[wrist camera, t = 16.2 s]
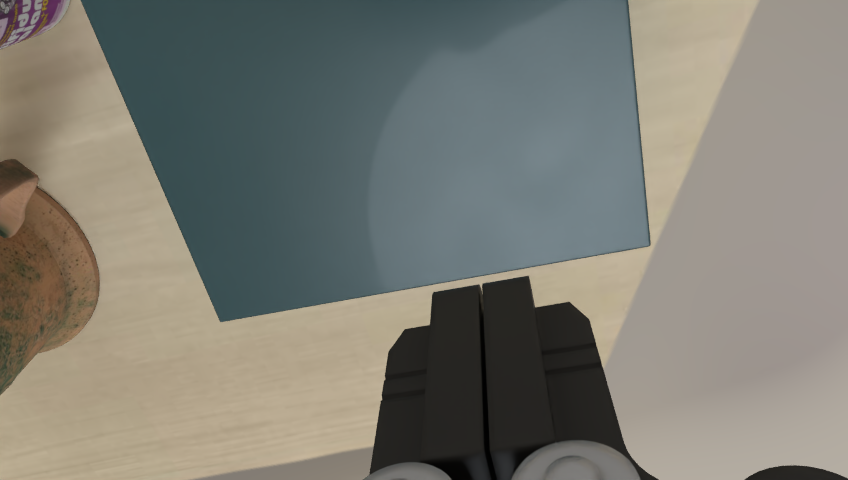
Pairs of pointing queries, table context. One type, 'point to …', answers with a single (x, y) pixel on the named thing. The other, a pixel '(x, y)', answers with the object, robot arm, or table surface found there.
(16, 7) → the pill bottle
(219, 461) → the table surface
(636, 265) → the table surface
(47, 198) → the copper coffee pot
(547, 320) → the robot arm
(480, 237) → the lid
